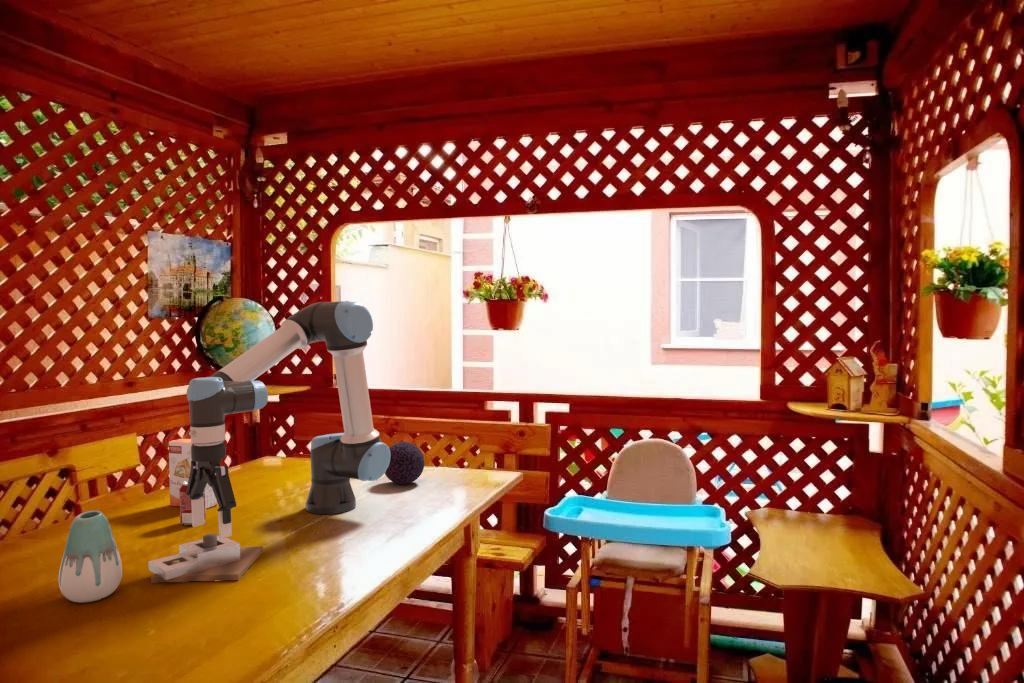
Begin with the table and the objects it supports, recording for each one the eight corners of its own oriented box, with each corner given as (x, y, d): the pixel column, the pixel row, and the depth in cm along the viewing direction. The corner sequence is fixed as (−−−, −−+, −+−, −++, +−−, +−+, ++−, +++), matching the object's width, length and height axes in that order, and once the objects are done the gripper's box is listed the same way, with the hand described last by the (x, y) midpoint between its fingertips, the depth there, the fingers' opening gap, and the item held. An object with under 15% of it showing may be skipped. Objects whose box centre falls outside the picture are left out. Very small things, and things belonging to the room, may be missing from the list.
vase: (76, 612, 139) (74, 524, 139) (48, 600, 145) (46, 516, 145) (133, 593, 149) (132, 510, 148) (105, 582, 155) (103, 503, 155)
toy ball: (374, 486, 243) (373, 444, 242) (396, 477, 257) (395, 437, 256) (411, 490, 237) (411, 447, 237) (432, 480, 251) (431, 439, 251)
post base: (262, 552, 175) (262, 523, 174) (238, 580, 156) (238, 547, 155) (185, 554, 173) (184, 524, 173) (151, 583, 154) (150, 550, 154)
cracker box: (168, 506, 218) (167, 440, 217) (183, 501, 224) (182, 437, 223) (203, 510, 213) (202, 443, 213) (218, 505, 219) (216, 440, 218)
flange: (220, 550, 172) (220, 534, 171) (240, 560, 165) (239, 543, 165) (148, 569, 159) (147, 552, 159) (166, 580, 152) (165, 562, 152)
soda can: (195, 527, 196) (194, 485, 196) (174, 526, 197) (174, 484, 197) (210, 520, 203) (209, 480, 202) (190, 519, 204) (189, 479, 204)
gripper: (169, 439, 169) (172, 524, 170) (217, 452, 153) (221, 546, 154) (199, 434, 175) (203, 517, 176) (249, 446, 158) (253, 537, 159)
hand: (211, 531), depth 165 cm, fingers open, 13 cm apart
